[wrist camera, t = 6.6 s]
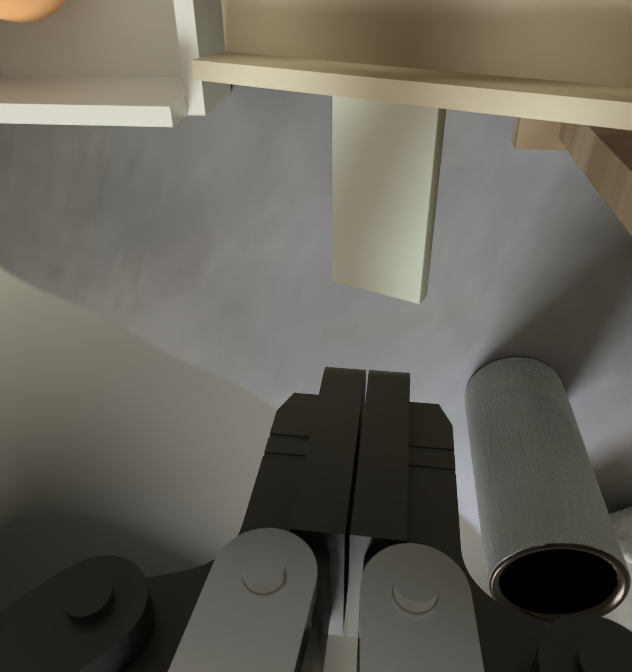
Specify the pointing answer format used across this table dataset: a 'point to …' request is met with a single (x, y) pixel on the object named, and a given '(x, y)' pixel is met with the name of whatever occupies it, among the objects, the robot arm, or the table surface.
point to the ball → (28, 9)
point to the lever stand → (588, 156)
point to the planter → (539, 497)
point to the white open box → (111, 63)
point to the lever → (421, 98)
